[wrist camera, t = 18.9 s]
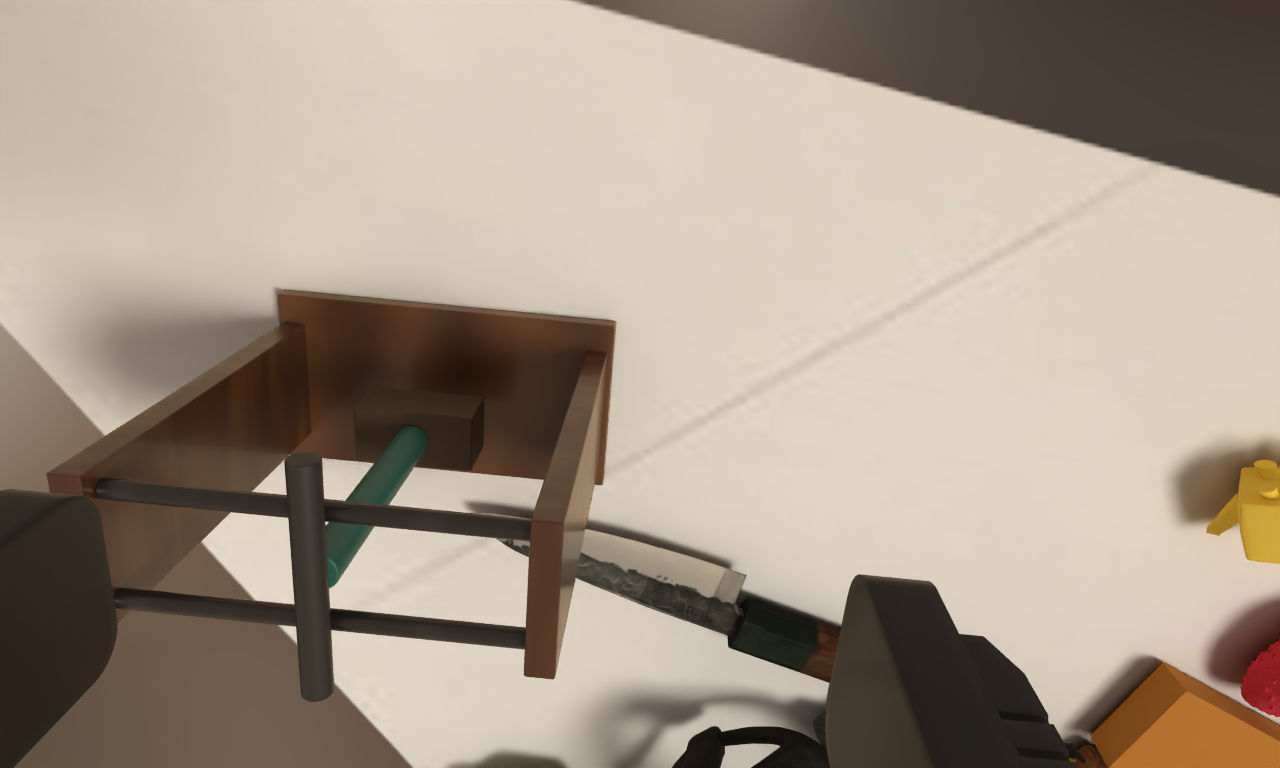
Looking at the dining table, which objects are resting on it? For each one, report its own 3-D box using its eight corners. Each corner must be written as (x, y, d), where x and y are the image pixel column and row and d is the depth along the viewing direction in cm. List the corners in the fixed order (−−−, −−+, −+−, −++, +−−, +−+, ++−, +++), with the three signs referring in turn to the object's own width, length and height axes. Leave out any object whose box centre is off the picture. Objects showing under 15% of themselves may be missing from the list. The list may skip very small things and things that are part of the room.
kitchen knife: (1019, 682, 52) (979, 740, 54) (1006, 659, 54) (968, 716, 56) (477, 489, 49) (453, 557, 51) (485, 472, 51) (462, 538, 53)
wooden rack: (295, 448, 51) (73, 665, 32) (284, 289, 48) (29, 431, 29) (603, 478, 51) (560, 714, 32) (616, 321, 47) (575, 483, 29)
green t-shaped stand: (376, 493, 47) (233, 694, 32) (371, 323, 43) (207, 458, 28) (482, 503, 47) (389, 709, 32) (486, 333, 43) (383, 475, 28)
